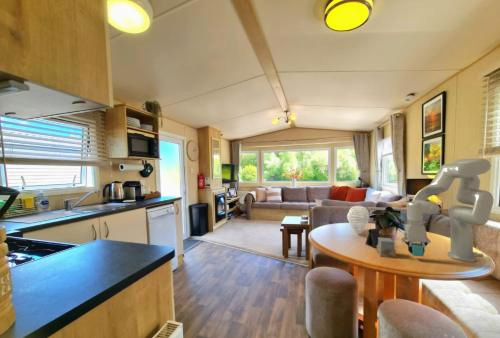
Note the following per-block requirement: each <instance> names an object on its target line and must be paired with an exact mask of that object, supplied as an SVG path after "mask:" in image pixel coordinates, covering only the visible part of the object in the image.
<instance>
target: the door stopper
mask: <svg viewBox="0 0 500 338" xmlns="http://www.w3.org/2000/svg"><path fill="white" fill-rule="evenodd" d="M378 237H380V230H379V229H378V228H377V227H376V228H369V229H368V234H367V237H366V241H365V245H366V246H369V247H370V248H373V249H375V250H377V245H378ZM380 238H381V237H380Z"/></svg>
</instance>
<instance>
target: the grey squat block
mask: <svg viewBox="0 0 500 338" xmlns="http://www.w3.org/2000/svg"><path fill="white" fill-rule="evenodd" d="M378 245H379V247H380V248H381V249H387V250H394V249H395V241H394V240H392V238H391V237H378Z"/></svg>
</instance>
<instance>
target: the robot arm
mask: <svg viewBox="0 0 500 338" xmlns="http://www.w3.org/2000/svg"><path fill="white" fill-rule="evenodd" d="M491 165H492V164H491V162H490V161H489V160H488V159H486V158H460V159H459V158H458V159H457V160H454V161H453V163H445V164H443V165H441V166H440V168H439V169H438V171H437V172H436V174H435V176H434V177H433V179H432V180H431V182H430V183H429V184H427V185H425V186H424V187H422V188H421V189H420V190H419V191H417V193H416V194H415V195H414V196H413V198H412V200H411V201H408V202H407V203H406V223H405V225H404V232H403V233H404V236H403V237H402V238H401V241H402V242H403V243H404V244H406V245H407V250H408V252H409V253H410V254H411V255H412V253H413V250H412V243H420V244H421V245H422V246H423V254H425V249H426V246H427V245H428V244H430V243H431V242H432V241H431V239H429V238H428V236H427V235H428V234H427V230H426V227H425V224H426V223H427V221H426V220H424V216H423V215H431V216H432V215H436V214H438V213H439V211H440V206H439V204H437V203H436V202H434V201H429V200H428V199H429V198H431V197H432V196H434V195H437V194H442V193H446V192H447V191H448V190H449V189H450V188H451V185H452V184H453V182H454V180H455V179H459V185H458V189H457V191H456V196H455V200H456V201H457V202H458V203H461V204H462V205H459V204H455V205H452V206H450V207H449V208H448V209H447V214H448V218H449V219H448V220H449V223H450V224H449V226H450V251H448V252H447V253H446V255H447V256H448V257H450V258H451V259H453V260H456V261H461V262H466V263H476V262H477V257H479V258H483V257H485V256H484V254H483V253H478V252H476V251H474V248H473V247H474V242H473V241H474V238H473V237H474V234H473V232H474V230H473V227H472V225H473V226H474V225H475V226H479V227H481V226H485V225H486V224H487V223H488V221H489V219H490V216H491V212H492V209H493V205H494V202H495V201H494V196H493V194H492V193H491V192H490V191H487V190H484V189H480V185H481V179H480V178H479V175H483V174H486V173H487V172H489V171H490V170H491V167H492V166H491ZM463 204H464V205H463ZM466 205H468V206H466ZM471 206H472V207H471Z"/></svg>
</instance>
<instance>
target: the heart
mask: <svg viewBox="0 0 500 338" xmlns="http://www.w3.org/2000/svg"><path fill="white" fill-rule="evenodd" d="M346 217H347V221H348V223H349V224H350V226H351V227H352V229H353V230H354V232H355V233H356V234H357V235H361V234H362V233H363V231H364V229H366V227H367V225H368V223H369V221H370V212H369V211H368V209H367V208H365V207H364V206H362V205H354V206H352V207H351V208H350V209H349V210H348V213H347V214H346Z"/></svg>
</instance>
